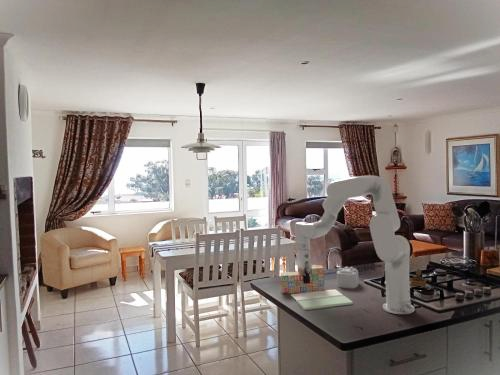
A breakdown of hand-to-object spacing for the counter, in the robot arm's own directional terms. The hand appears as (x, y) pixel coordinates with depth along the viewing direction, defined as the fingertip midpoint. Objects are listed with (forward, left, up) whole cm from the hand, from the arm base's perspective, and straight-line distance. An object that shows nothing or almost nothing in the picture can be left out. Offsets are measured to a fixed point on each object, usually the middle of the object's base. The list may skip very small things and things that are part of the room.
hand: (304, 280), depth 192 cm
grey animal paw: (+3, -25, -6) cm, 26 cm away
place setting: (-13, -58, -6) cm, 59 cm away
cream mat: (-10, -3, -5) cm, 12 cm away
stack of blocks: (0, +1, -5) cm, 6 cm away
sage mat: (-21, -3, -5) cm, 21 cm away
